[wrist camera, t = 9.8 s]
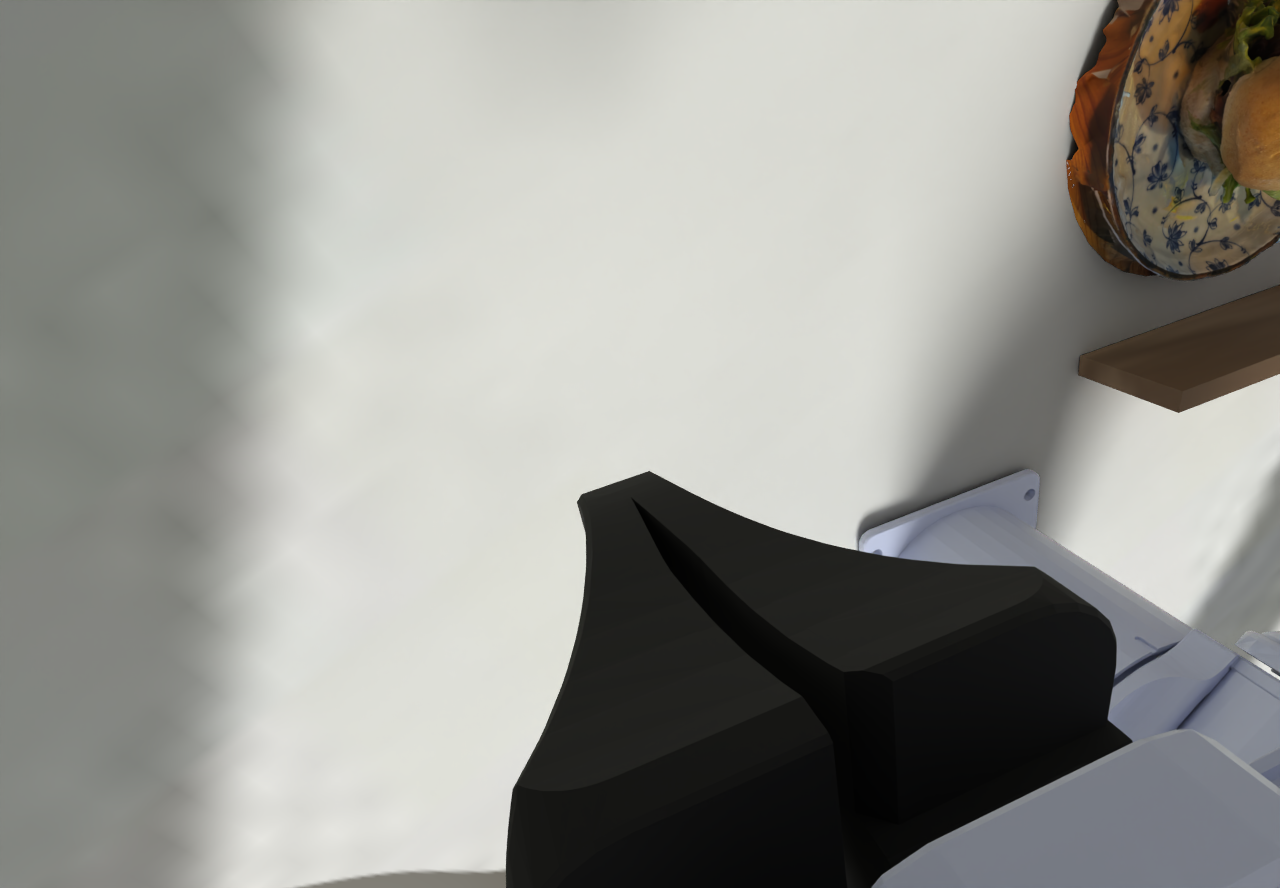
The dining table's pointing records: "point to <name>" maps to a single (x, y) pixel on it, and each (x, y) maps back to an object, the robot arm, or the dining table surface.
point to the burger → (1180, 137)
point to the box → (1195, 355)
